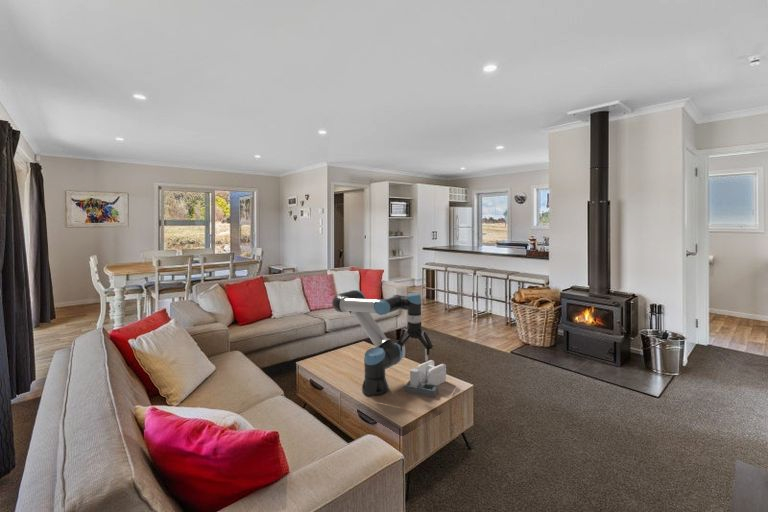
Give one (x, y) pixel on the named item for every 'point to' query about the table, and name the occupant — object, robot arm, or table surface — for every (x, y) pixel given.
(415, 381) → the plug
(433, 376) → the cable organizer
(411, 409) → the table surface
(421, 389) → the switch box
